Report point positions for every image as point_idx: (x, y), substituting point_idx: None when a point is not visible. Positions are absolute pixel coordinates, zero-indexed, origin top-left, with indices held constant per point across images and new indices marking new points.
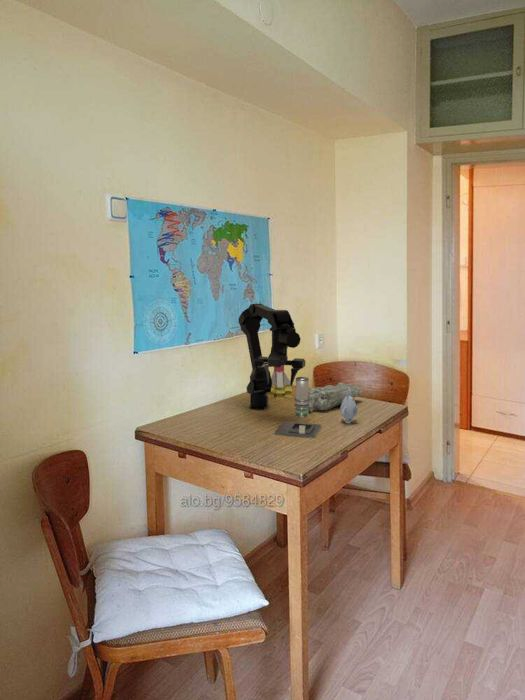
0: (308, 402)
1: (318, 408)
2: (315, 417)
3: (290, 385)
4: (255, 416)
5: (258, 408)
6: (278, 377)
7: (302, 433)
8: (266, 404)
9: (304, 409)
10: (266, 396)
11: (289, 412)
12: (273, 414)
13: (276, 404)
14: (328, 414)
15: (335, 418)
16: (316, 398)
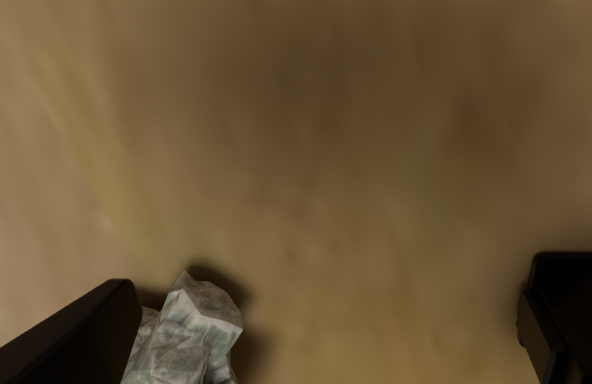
0: (188, 325)
1: (148, 308)
2: (122, 193)
3: (128, 282)
4: (588, 69)
5: (587, 256)
6: None
7: None
8: (530, 303)
9: None
10: (557, 369)
11: (328, 245)
12: (432, 171)
13: (465, 370)
14: (87, 268)
15: (9, 209)
16: (133, 366)
